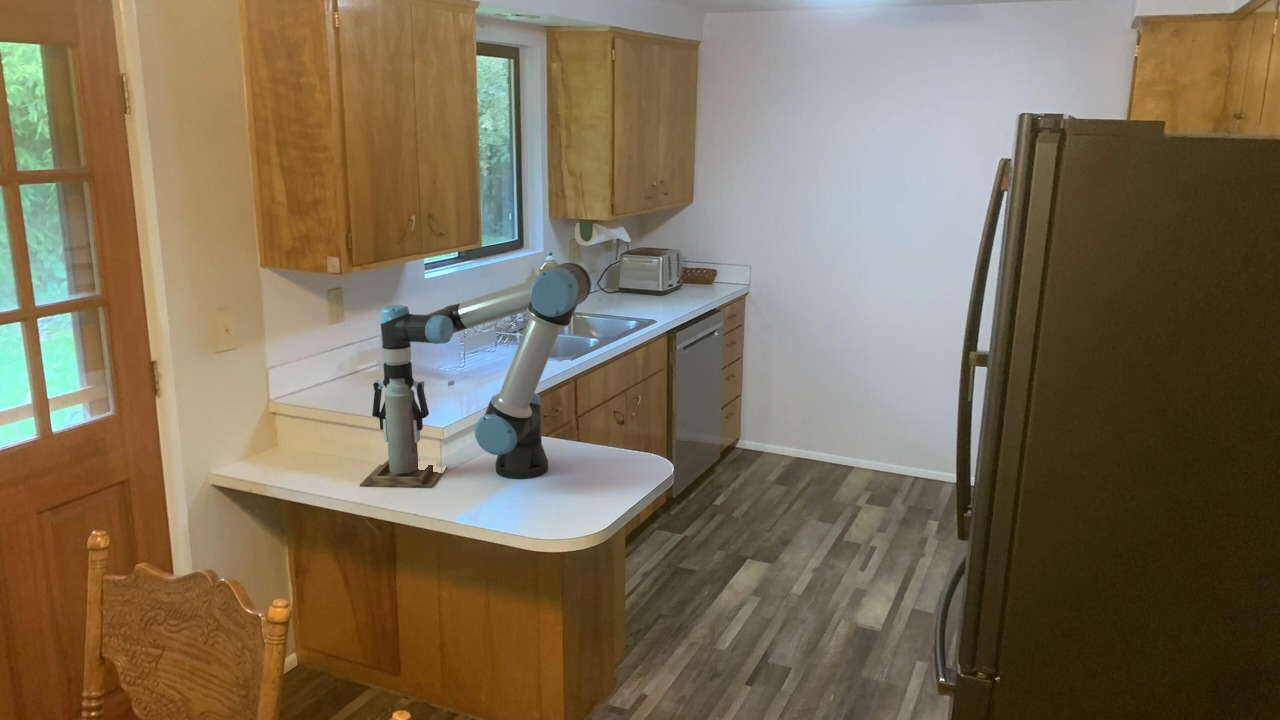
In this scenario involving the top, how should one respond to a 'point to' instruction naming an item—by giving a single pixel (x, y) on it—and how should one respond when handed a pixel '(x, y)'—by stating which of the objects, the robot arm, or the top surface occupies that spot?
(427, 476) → the brown wooden tray
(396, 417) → the thermos bottle
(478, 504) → the top surface
